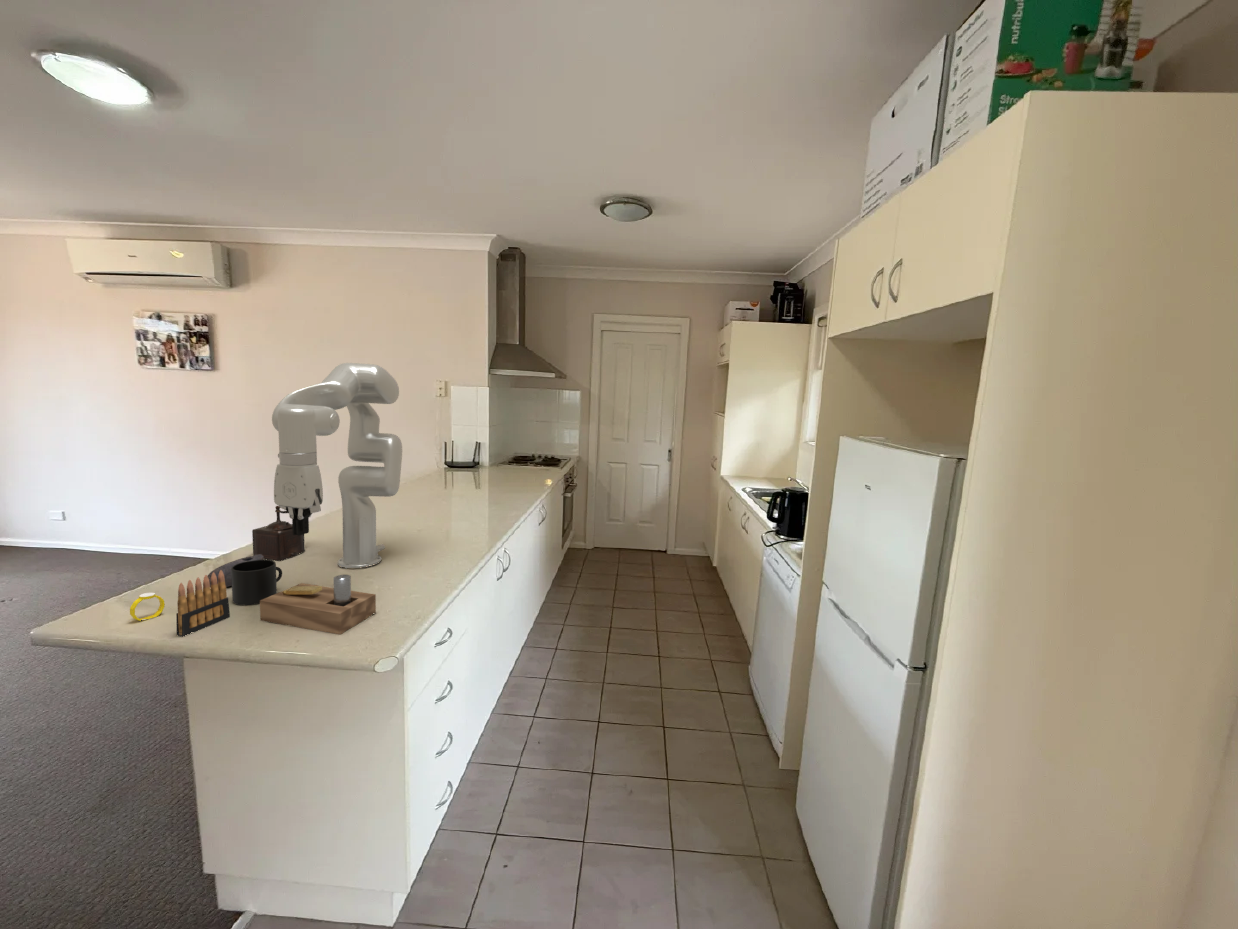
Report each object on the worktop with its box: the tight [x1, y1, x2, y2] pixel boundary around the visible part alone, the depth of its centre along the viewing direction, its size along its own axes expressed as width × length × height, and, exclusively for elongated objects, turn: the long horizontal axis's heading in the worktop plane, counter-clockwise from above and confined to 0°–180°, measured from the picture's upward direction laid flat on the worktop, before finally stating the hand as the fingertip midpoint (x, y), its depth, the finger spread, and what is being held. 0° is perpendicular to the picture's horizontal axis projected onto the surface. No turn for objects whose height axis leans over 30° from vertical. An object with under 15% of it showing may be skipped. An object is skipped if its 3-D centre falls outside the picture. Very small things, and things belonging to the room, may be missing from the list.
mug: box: [231, 559, 283, 606], centre depth 132 cm, size 9×12×9 cm
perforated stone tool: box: [207, 554, 265, 588], centre depth 139 cm, size 15×5×7 cm, turn 153°
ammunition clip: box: [176, 570, 231, 638], centre depth 114 cm, size 11×2×12 cm, turn 167°
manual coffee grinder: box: [251, 505, 306, 562], centre depth 166 cm, size 16×11×18 cm
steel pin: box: [333, 574, 352, 606], centre depth 121 cm, size 4×4×11 cm
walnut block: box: [259, 582, 377, 635], centre depth 122 cm, size 12×22×5 cm, turn 78°
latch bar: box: [282, 585, 323, 595], centre depth 123 cm, size 3×8×1 cm, turn 78°
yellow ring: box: [129, 592, 166, 622], centre depth 117 cm, size 6×3×6 cm, turn 158°
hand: (300, 533), depth 121 cm, fingers closed
